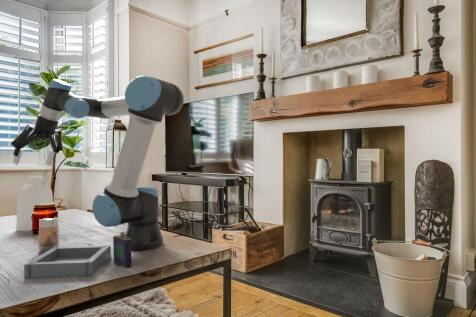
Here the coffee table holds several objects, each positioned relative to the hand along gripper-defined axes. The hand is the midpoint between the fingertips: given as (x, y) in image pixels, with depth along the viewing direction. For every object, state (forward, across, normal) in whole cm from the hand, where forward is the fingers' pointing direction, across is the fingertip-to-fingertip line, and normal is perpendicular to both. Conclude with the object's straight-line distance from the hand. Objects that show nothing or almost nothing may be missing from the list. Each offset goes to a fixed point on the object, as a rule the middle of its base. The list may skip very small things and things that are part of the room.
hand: (32, 164), depth 139 cm
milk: (+40, -20, -10) cm, 46 cm away
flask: (+4, +3, +65) cm, 66 cm away
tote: (+10, +12, +53) cm, 56 cm away
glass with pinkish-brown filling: (+21, +4, +32) cm, 38 cm away
